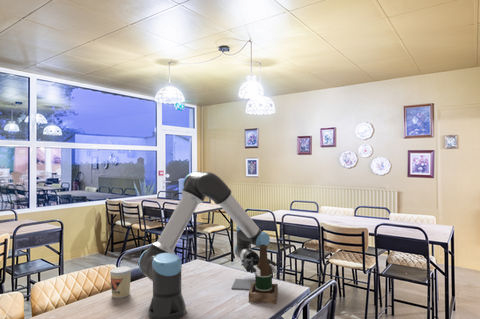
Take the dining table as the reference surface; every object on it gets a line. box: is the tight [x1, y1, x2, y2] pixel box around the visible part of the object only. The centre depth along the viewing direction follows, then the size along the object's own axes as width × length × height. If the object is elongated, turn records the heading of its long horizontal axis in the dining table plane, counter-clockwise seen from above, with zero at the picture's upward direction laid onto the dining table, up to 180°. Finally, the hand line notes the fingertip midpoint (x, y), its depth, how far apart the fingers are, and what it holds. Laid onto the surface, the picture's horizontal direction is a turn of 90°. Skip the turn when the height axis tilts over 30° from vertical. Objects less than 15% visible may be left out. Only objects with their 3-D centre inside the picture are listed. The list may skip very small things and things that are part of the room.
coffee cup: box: [109, 265, 132, 299], centre depth 150 cm, size 9×9×12 cm
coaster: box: [231, 278, 255, 291], centre depth 160 cm, size 12×12×1 cm
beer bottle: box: [254, 245, 273, 294], centre depth 146 cm, size 8×8×24 cm
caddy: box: [248, 283, 279, 305], centre depth 146 cm, size 12×12×4 cm
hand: (267, 272), depth 141 cm, fingers closed on beer bottle, 7 cm apart
